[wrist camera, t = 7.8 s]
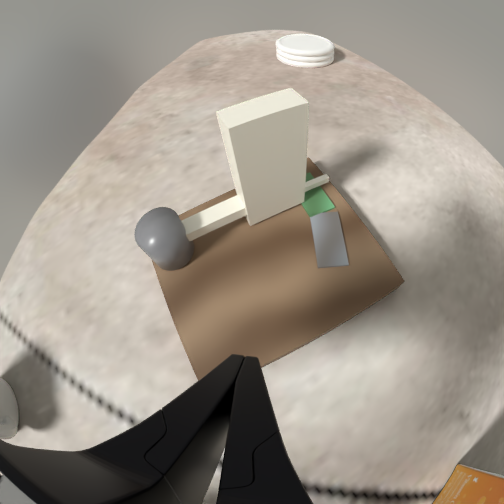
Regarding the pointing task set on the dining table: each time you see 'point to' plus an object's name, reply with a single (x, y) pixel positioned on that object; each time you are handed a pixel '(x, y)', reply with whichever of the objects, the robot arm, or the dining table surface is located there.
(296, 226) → the brown flat panel
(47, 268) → the dining table surface
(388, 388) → the dining table surface
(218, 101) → the dining table surface
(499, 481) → the small box
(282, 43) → the coaster
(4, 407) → the cup
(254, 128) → the lever
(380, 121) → the dining table surface
